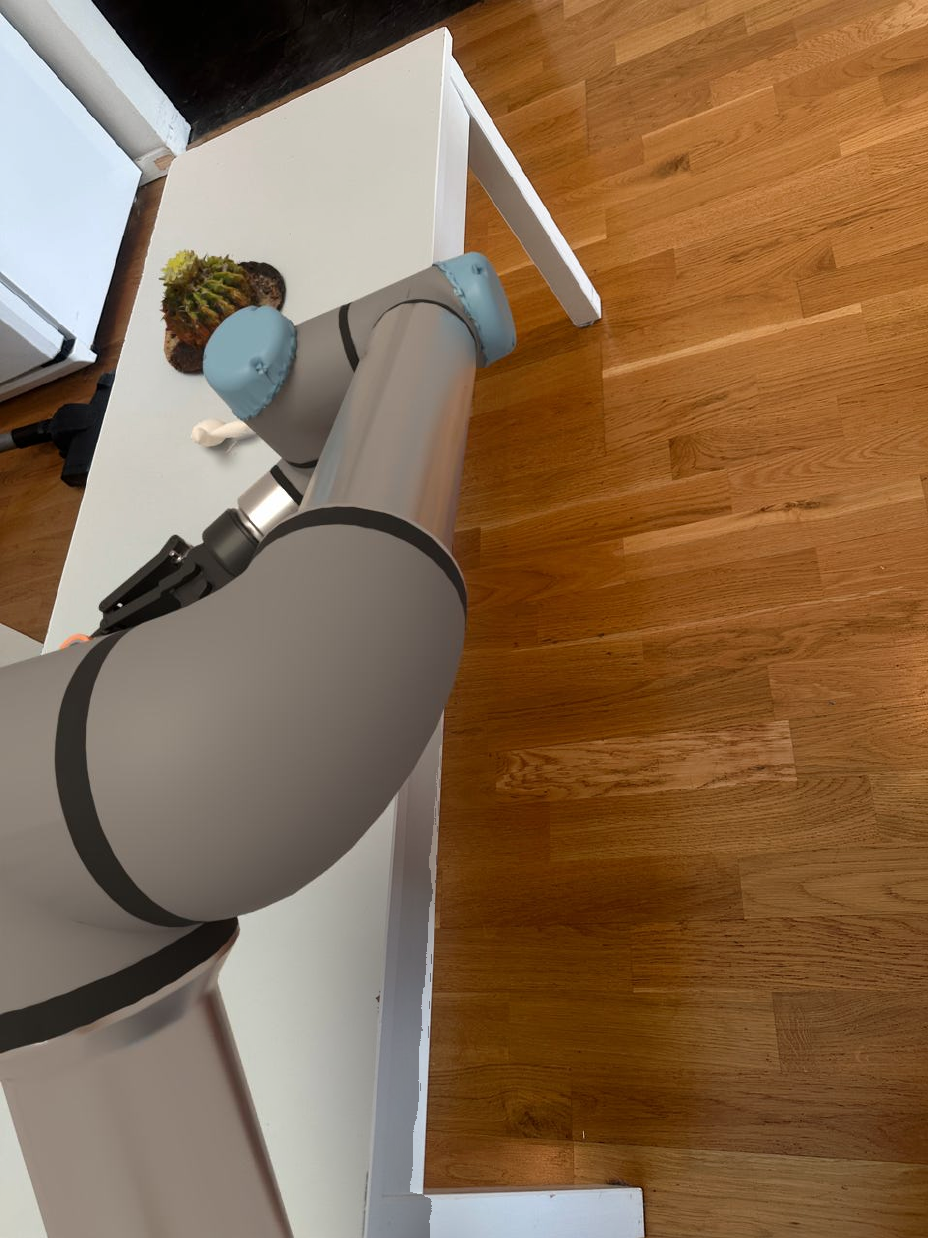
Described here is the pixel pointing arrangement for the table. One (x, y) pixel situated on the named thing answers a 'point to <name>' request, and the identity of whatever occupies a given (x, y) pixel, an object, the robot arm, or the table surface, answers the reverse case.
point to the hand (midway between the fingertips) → (71, 713)
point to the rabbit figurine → (217, 432)
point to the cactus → (209, 300)
